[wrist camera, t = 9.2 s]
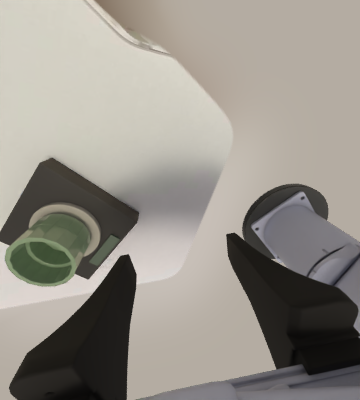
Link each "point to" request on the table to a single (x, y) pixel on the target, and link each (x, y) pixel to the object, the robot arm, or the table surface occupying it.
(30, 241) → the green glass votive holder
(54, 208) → the scale
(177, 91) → the table surface
